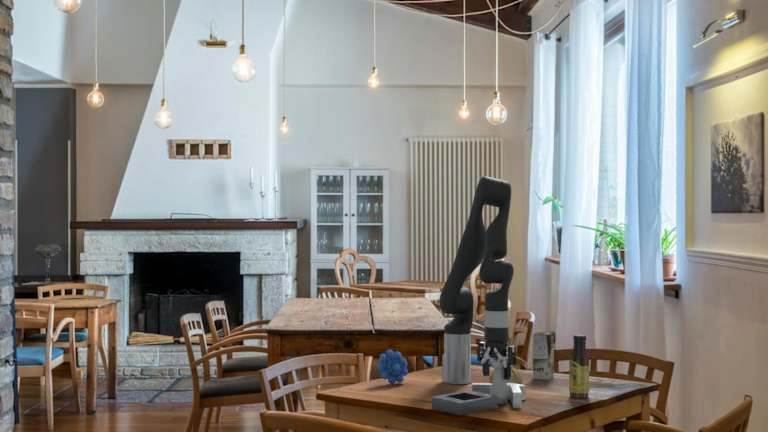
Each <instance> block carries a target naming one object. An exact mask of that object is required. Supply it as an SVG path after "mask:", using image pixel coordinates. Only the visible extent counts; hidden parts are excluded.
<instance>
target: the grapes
mask: <svg viewBox="0 0 768 432" xmlns="http://www.w3.org/2000/svg"><path fill="white" fill-rule="evenodd" d="M378 359H379V362H378V363H377V365H376V367H377V369H378V371H380V378H381V379H382V380H387V382H388V383H389V384H391V385H394V384H396V382H397V383H400V384H401V383H403V381H404V377H407V376H408V374H409V371H408V368H406V367H408V366H407V365H408V361H407V359H405V358H403V355H402V353H401V352H400V351H393V350H392V349H387V350H386V351H385V353H381V354H380V355H379V358H378Z"/></svg>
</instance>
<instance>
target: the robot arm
mask: <svg viewBox="0 0 768 432" xmlns="http://www.w3.org/2000/svg"><path fill="white" fill-rule="evenodd" d="M511 185H512V184H510V182H509V181H506V180H503V179H500V178H499V179H498V178H495V177H490V176H482V177H481V178H480V179H479V180H478V182H477V185H476V189H475V192H474V197H473V199H472V203H471V208H470V211H469V217H468V220H467V222H466V225H465V227H464V231H463V234H462V236H461V239H460V241H459V245H458V248H457V252H456V254H455V258H454V261H453V264H452V266H451V269H450V272H449V274H448V276H447V278H446V280H445V283H444V285H443V287H442V290H441V292H440V295H439V301H438V302H439V308H440V310H441V312H442V313H444V314H447V315H454V316H453V319H452V320H451V321H449V322H448V323H446V324H445V325H444V329H443V330H444V334H443V335H444V340H443V341H444V344H443V345H444V346H443V347H444V348H443V349H444V353H443V354H442V355H441V356H442V358H441V359H442V362H441V363H442V366H441V367H442V371H441V372H442V375H441V377H442V382H444V383H446V384H451V385H466V384H470V383H471V382H472V381H471V379H472V378H471V370H472V369H471V368H472V366H471V365H472V362H471V360H472V359H471V357H472V355H471V354H472V353H471V351H472V347H471V345H472V344H471V341H472V340H471V339H472V337H471V336H472V335H471V334H472V333H471V332H472V326H473V323H474V303H475V301H474V296H473V293H472V291H471V290H470V289H469V288H468V287H465V286H464V284H465V281H466V280H467V279H468V278H469V277H470V276H471V275H472V274H473V272H475V270H476V269H477V268H479V271H478V276H479V279H480V281H482V283H484V284H489V285H490V284H499V285H500V284H501V287H500V288H498V289H496V290H492V291H491V290H490V291H487V292H486V293H485V295H484V316H483V317H484V318H483V319H484V320H483V325H484V328H483V329H484V332H483V333H484V335H483V336H484V337H483V338H484V341H479V342H477V355H476V361H478V362H480V363H481V364H482V365H481V366H482V376H483V377H490V375H491V373H490V370H491V369H490V366H491V365H490V362H491V361H492V359H496V360H500V361H501V362H502V363H503V365H504V380H509V379H510V378H511V367H515V366H517V362H518V361H517V346H516V345H510V346H509V345H508V341H509V338H510V337H509V335H510V334H509V333H510V332H509V330H510V329H509V328H510V326H509V324H510V323H509V322H510V320H509V317H510V316H509V311H508V310H509V293H510V289H511V288H510V287H511V284H512V280H513V277H514V271H515V270H514V265H513V264H512V263H511V262H510V261H507V260H503V259H505V258H506V257H507V255H508V239H507V238H508V237H507V236H508V235H507V234H508V233H507V232H508V223H509V218H510V217H509V216H510V208H511V199H512V186H511ZM485 205H486V206H489V207H493V208H498V212H497V215H496V216H495V218H494V219H493V220H492V222H490V224H489V225H488V227H485V224H484V223H485V222H484V220H483V210H484V206H485ZM500 260H501V261H500ZM479 266H480V267H479ZM463 286H464V287H463Z"/></svg>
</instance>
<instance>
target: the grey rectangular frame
mask: <svg viewBox="0 0 768 432" xmlns="http://www.w3.org/2000/svg"><path fill="white" fill-rule="evenodd" d="M430 404H431V405H430V407H431V409H432V410H435V411H440V412H443V413H444V412H445V413H447V414H453V415H456V416H464V415H468V414H474V413H480V412H485V411H490V410H494V409H498V408H499V404H498V396H494V395H489V394H484V393H479V392H474V391H472V390H470V389H469V390H465V391H457V392H452V393H447V394H446V393H445V394H440V395H435V396H431V403H430Z"/></svg>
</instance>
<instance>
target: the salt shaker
mask: <svg viewBox="0 0 768 432" xmlns="http://www.w3.org/2000/svg"><path fill="white" fill-rule="evenodd" d="M492 368H493V370H494V374H493V380H492V386H491V391H490V395H494V396H498V405H504V404H507V402H508V401H509V400H508V397H509V393H508V388H507V383H506V380H504V365H503V363H502V362H501V361H500V360H499V359H496V360H493V361H492Z"/></svg>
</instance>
